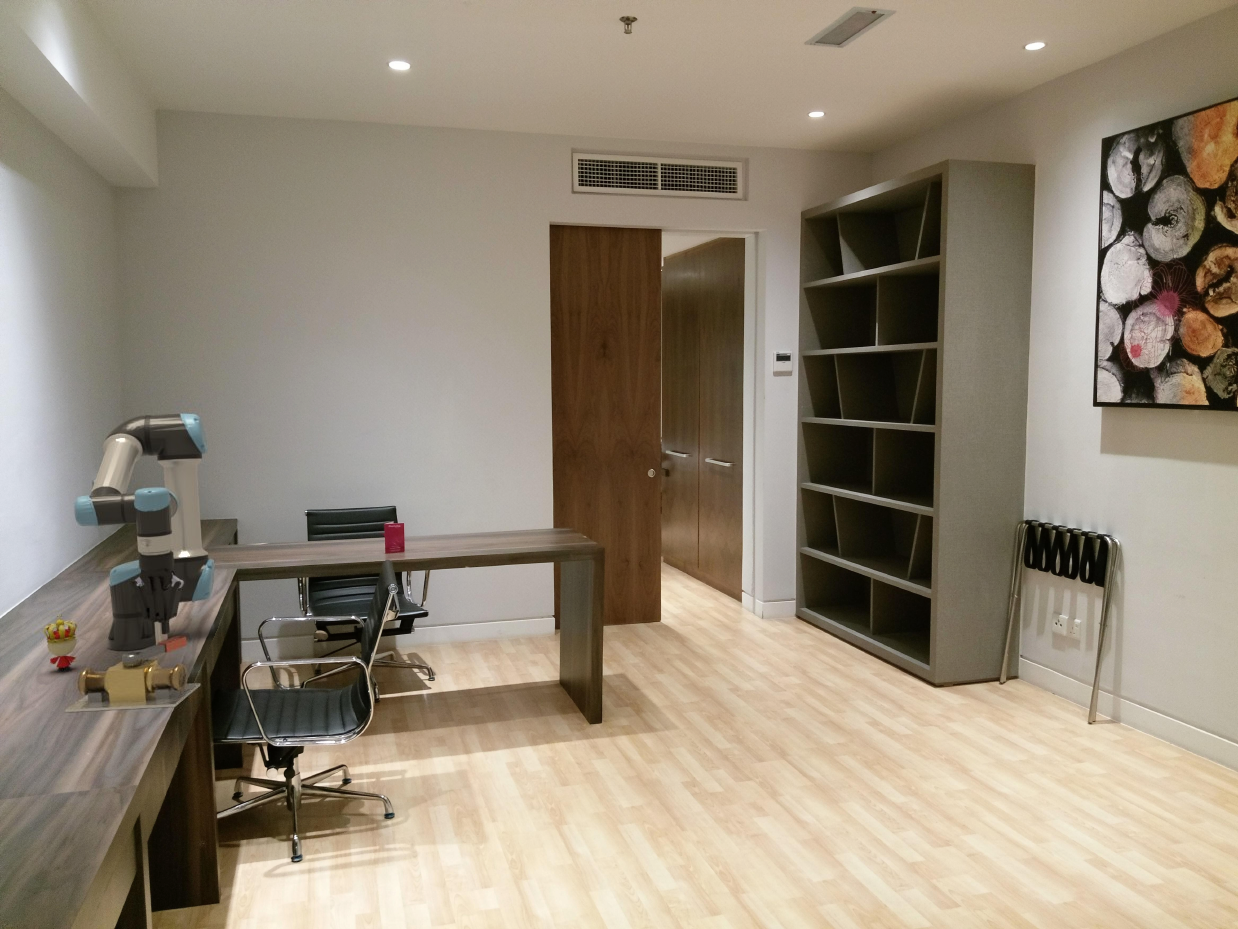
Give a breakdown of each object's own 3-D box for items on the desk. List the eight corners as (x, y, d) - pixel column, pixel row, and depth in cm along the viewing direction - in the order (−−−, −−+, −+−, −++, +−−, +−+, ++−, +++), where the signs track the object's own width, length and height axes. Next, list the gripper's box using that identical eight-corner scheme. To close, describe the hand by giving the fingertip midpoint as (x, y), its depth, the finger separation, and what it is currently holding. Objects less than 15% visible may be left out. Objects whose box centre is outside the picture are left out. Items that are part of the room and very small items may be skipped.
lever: (131, 667, 202) (130, 657, 202) (118, 665, 203) (117, 655, 203) (188, 646, 217) (187, 636, 217) (176, 644, 219) (175, 635, 218)
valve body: (65, 712, 197) (62, 677, 197) (97, 690, 211) (95, 658, 211) (175, 706, 199) (172, 672, 198) (200, 685, 213) (197, 653, 212)
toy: (85, 665, 231) (80, 609, 230) (73, 674, 224) (68, 616, 223) (55, 667, 230) (50, 611, 229) (42, 676, 223) (37, 618, 222)
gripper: (120, 554, 209) (127, 651, 212) (171, 555, 208) (177, 652, 211) (140, 548, 217) (147, 641, 219) (189, 549, 216) (195, 642, 218)
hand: (162, 646), depth 215 cm, fingers closed
